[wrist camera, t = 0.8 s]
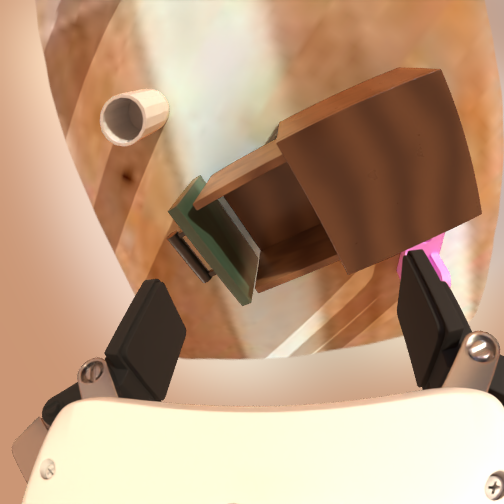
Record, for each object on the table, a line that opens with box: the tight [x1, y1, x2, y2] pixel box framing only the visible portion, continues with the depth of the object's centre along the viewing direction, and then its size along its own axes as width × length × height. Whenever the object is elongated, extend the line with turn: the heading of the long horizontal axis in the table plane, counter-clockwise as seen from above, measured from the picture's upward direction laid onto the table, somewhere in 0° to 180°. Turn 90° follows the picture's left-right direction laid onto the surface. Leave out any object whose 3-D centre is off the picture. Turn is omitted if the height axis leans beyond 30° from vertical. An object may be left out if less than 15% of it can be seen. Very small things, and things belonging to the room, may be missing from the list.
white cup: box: [100, 89, 169, 146], centre depth 29 cm, size 6×6×6 cm
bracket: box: [396, 232, 451, 287], centre depth 34 cm, size 13×6×7 cm, turn 3°
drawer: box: [167, 139, 340, 306], centre depth 33 cm, size 19×13×9 cm
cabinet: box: [276, 68, 482, 275], centre depth 28 cm, size 16×15×11 cm
